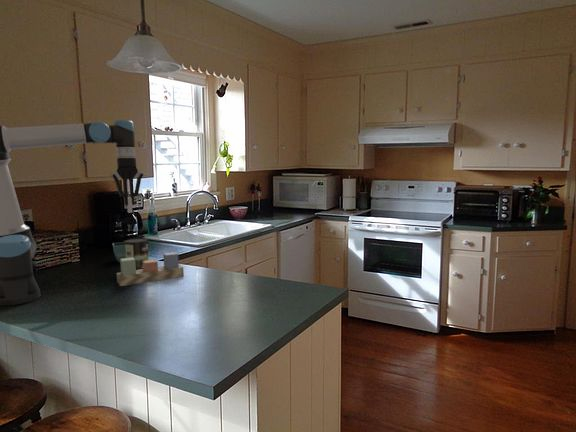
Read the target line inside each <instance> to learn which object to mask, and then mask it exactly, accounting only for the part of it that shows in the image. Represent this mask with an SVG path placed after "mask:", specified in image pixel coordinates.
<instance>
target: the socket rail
mask: <svg viewBox="0 0 576 432" xmlns="http://www.w3.org/2000/svg"><path fill="white" fill-rule="evenodd" d="M184 275H185V274H184V267H183V266H182V265H180V264H179V268H172V269H166V268H164V265H163V266H158V271H152V272H144V271H143V269H141V270H136V274H132V275H125V276H123V275H122V274H121V271H120V272H116V282H117V284H118V285H119V287H124V286H129V285H130V286H131V285H136V284H137V285H138V284H143V283H144V284H145V283H149V282H155V281H161V280H162V281H163V280H167V279H168V280H169V279H174V278H182V277H184Z"/></svg>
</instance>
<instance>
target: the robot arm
mask: <svg viewBox="0 0 576 432" xmlns="http://www.w3.org/2000/svg"><path fill="white" fill-rule="evenodd" d="M135 141H136V139H135V127H134V122H133V121H132V120H126V119H118V120H115V121H114V123H113V124H110V125H109V124H106V123H105V122H103V121H95V122H86V123H84V122H83V123H69V124H53V125H50V124H49V125H38V126H20V127H19V126H18V127H7V126H5V125H0V306H1V307H2V306H16V305H22V304H26V303H30V302H32V301H35V300H37V299H39V298H40V297H41V296H42V295H41V289H40V288H39V285H38V283H37V281H36V278H35V277H34V271H33V269H34V268H33V258H34V256H35V254H36V253H37V248H38V247H37V246H38V245H37V242H36V240H35V239H34V237H33V234H32V230H31V228H30V226H28V225H27V224H25V222H24V218H23V214H22V212H21V211H22V210H21V207H20V203H19V199H18V197H17V193H16V189H15V185H14V183H13V179H12V175H11V171H10V169H9V163H10V162H11V161H12V158H11V154H10V152H11V151H12V150H20V149H21V150H22V149H33V148H44V147H45V148H46V147H57V146H69V145H70V146H71V145H81V144H93V145H96V144H115V145H116V148H115V150H116V157H117V159H116V162H117V169H116V172H115V173H113V174H111V178H112V179H113V180H114V183H115V186H116V189H117V192H118V195H119V196H120V197H122V198H123V199H124V200H123V202H124V205H125V206H127V207H126V208H127V213H128V214H130V213H131V214H132V213H133V205H135V197H136V196H139V192H140V186H141V182H142V178H143V177H144V173H142V172H140V171H139V170H138V168H137V159H136V156H137V155H136V146H135V145H136V143H135ZM119 177H120V178H121V180H122V187H121V183H120V180H119ZM135 177H137V178H136V181H135V185H134V178H135ZM128 184H129V185H128ZM128 186H129V187H128ZM134 186H135V187H134ZM128 188H129V193H128Z"/></svg>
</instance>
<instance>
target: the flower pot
mask: <svg viewBox="0 0 576 432" xmlns="http://www.w3.org/2000/svg"><path fill="white" fill-rule="evenodd" d="M112 248H113V255H114V257H115V259H116V261H117V262H118V263H120V259H123V258H126V254H125V243H124V241H123V242H112Z"/></svg>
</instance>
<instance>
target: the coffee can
mask: <svg viewBox="0 0 576 432" xmlns="http://www.w3.org/2000/svg"><path fill="white" fill-rule="evenodd" d="M148 241H149V239H148V238H130V239H127V240H126V239H125V240H124V241H123V242H124V243H125V254H126V258H131V257H133V258H134V259H135V264H136V270H141V269H143V261H146V260H150V259H149V242H148Z"/></svg>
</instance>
